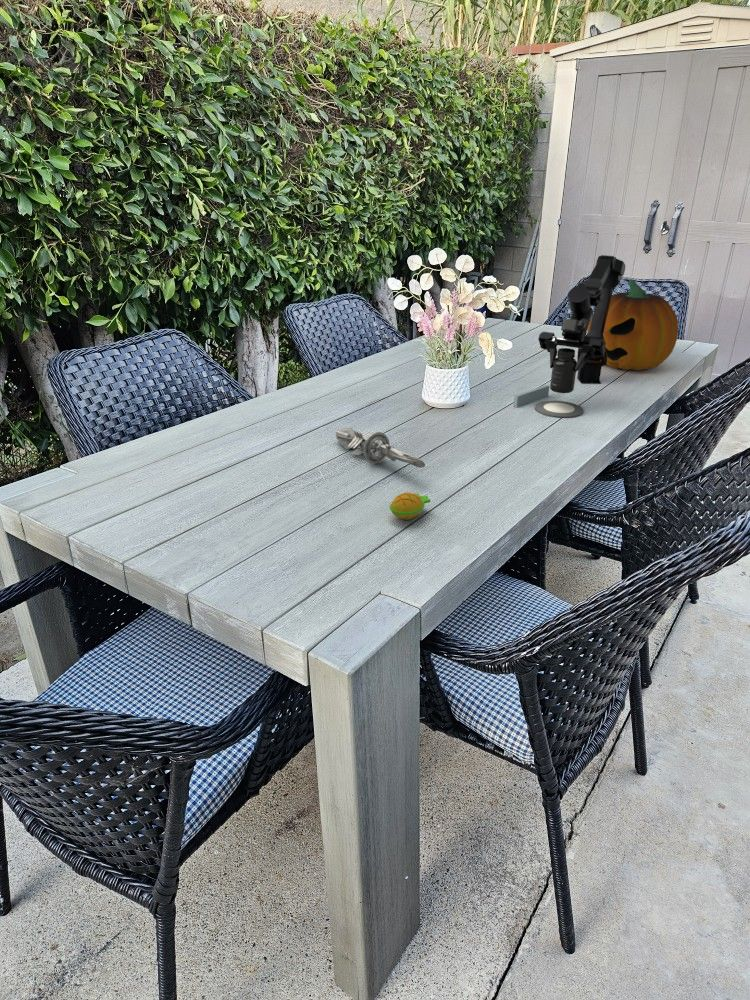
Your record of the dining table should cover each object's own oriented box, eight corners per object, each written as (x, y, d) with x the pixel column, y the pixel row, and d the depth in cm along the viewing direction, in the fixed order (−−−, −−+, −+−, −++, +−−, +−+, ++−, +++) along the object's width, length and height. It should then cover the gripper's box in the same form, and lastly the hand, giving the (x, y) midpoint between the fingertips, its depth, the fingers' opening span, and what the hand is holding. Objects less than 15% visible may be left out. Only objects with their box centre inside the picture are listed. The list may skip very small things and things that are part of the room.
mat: (577, 402, 210) (577, 400, 209) (588, 418, 197) (588, 416, 197) (531, 401, 210) (531, 399, 210) (539, 417, 198) (539, 415, 197)
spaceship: (406, 460, 150) (431, 440, 153) (319, 430, 176) (341, 413, 179) (418, 488, 154) (442, 467, 157) (331, 454, 180) (353, 437, 183)
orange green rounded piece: (382, 519, 142) (382, 496, 139) (408, 502, 149) (409, 480, 147) (410, 529, 138) (411, 505, 136) (435, 510, 146) (436, 488, 143)
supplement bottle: (561, 385, 205) (567, 345, 200) (578, 391, 200) (584, 351, 195) (544, 388, 202) (549, 348, 197) (560, 395, 197) (566, 354, 191)
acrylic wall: (544, 395, 216) (546, 384, 214) (548, 396, 215) (549, 385, 213) (513, 406, 206) (514, 395, 205) (516, 407, 206) (517, 396, 204)
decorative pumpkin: (566, 359, 254) (577, 276, 241) (627, 351, 265) (641, 271, 252) (623, 381, 230) (639, 289, 216) (688, 371, 241) (707, 283, 228)
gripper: (544, 303, 198) (527, 350, 194) (609, 310, 189) (593, 359, 186) (549, 325, 207) (533, 369, 204) (611, 332, 199) (596, 379, 196)
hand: (563, 369), depth 197 cm, fingers closed on supplement bottle, 7 cm apart
